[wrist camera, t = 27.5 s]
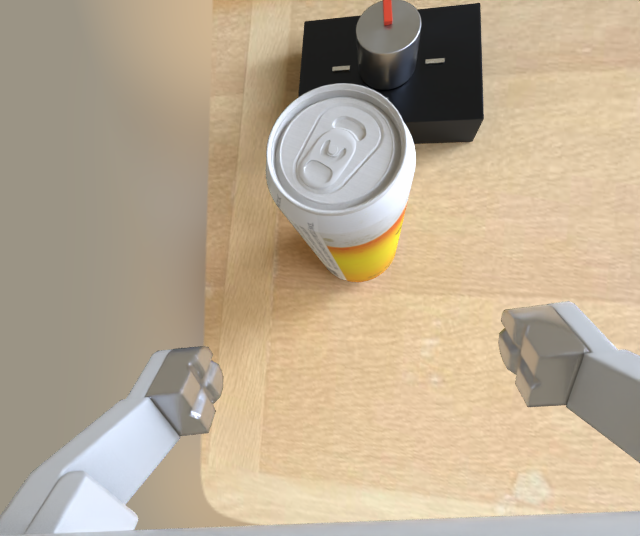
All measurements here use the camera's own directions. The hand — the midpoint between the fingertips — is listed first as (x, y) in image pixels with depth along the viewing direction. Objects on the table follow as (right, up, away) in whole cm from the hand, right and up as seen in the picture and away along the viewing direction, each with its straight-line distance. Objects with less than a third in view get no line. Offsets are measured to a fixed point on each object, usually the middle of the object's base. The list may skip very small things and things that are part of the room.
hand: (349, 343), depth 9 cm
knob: (+4, +18, +17) cm, 25 cm away
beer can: (+2, +4, +18) cm, 18 cm away
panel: (+5, +17, +20) cm, 27 cm away
